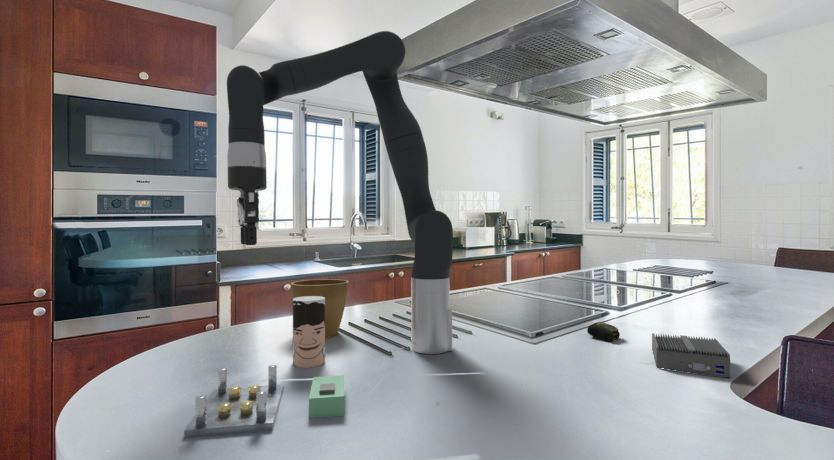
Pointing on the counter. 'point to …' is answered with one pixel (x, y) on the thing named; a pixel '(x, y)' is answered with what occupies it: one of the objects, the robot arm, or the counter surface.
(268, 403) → the chassis
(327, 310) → the plant pot
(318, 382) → the green block
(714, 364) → the electronic device
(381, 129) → the robot arm
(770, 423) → the counter surface
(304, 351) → the printed cylinder
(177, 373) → the counter surface
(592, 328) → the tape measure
